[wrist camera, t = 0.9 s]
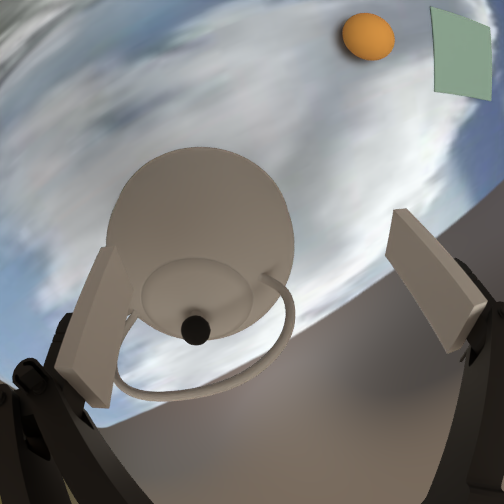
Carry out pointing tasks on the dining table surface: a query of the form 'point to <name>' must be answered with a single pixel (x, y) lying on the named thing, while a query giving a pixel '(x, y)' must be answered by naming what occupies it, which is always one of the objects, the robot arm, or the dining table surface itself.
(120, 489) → the robot arm
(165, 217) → the kettle
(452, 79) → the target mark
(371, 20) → the ball
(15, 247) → the dining table surface
